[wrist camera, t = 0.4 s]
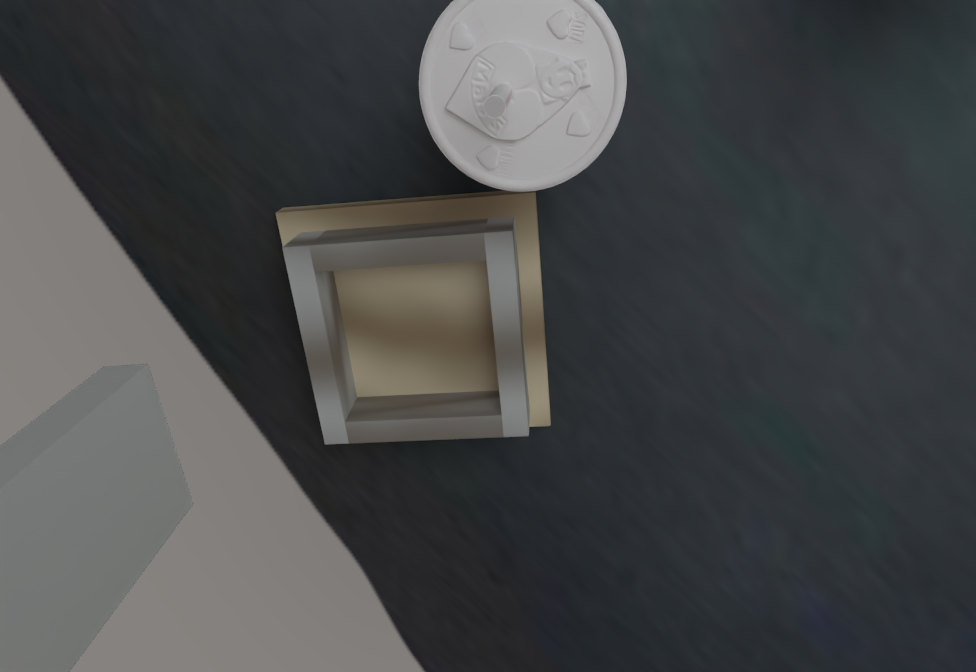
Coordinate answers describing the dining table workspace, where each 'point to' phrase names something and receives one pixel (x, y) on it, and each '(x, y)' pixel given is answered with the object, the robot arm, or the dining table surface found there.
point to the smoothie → (522, 89)
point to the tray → (421, 315)
